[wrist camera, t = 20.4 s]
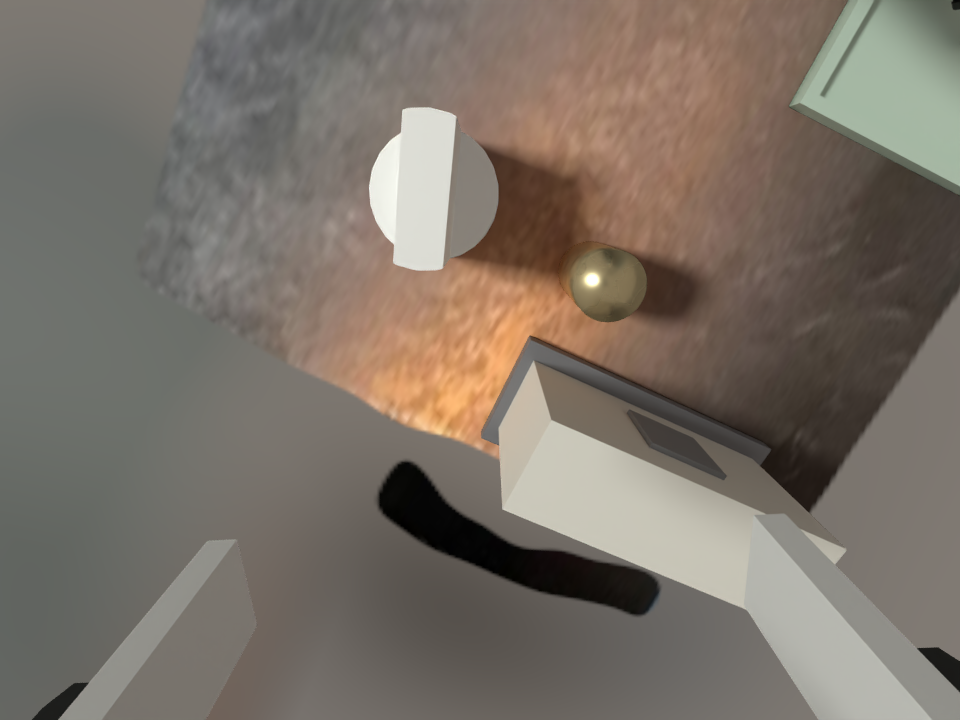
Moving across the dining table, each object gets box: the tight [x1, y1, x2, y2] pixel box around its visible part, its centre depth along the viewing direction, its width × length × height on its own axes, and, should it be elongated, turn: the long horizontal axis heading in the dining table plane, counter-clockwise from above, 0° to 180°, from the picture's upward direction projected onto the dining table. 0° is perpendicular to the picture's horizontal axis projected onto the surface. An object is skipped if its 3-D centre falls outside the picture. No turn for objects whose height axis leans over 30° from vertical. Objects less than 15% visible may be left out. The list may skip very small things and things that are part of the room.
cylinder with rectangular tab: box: [369, 107, 498, 270], centre depth 35 cm, size 9×9×12 cm
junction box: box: [481, 336, 847, 610], centre depth 40 cm, size 24×10×14 cm, turn 65°
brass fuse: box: [558, 241, 647, 322], centre depth 38 cm, size 5×5×8 cm
